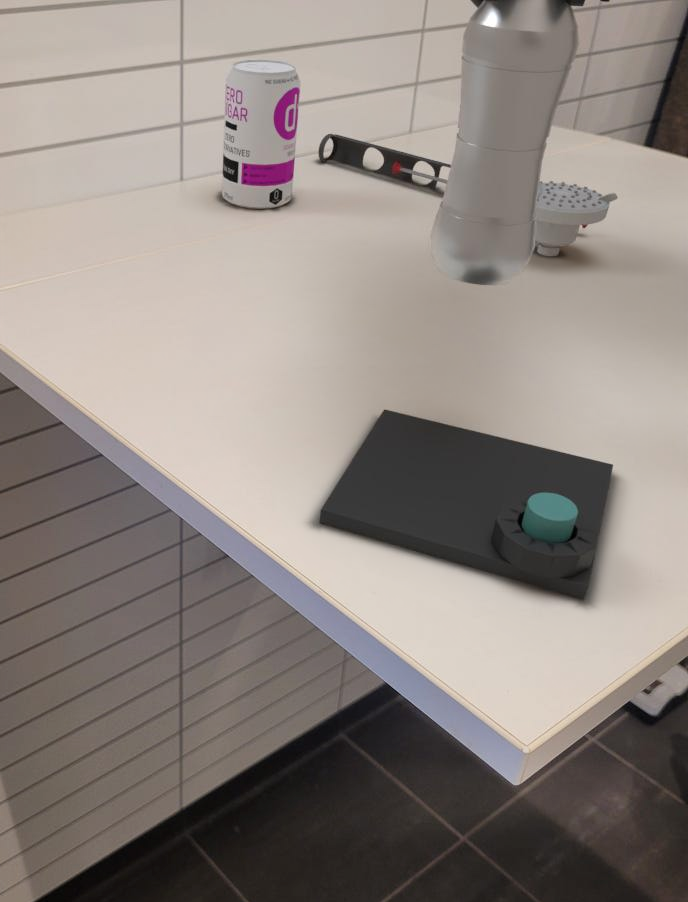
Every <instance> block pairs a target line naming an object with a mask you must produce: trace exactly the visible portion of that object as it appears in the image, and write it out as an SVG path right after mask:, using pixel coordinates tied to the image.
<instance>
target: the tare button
mask: <svg viewBox="0 0 688 902" xmlns="http://www.w3.org/2000/svg"><path fill="white" fill-rule="evenodd" d="M577 515H578V509H577V507H576V505H575V504H574V503H573V502H572V501H571V500H569V499H567V498H566V497H563V496H561V495H558V494H554V493H537V494H534V495H532V496H531V497H530V498H529V499H528V502H527V506H526V510H525V513H524V517H523V521H522V528H523V530H524V532H525V533H526V534H528V535H529V536H531V537H532V538H534V539H537V540H541V541H545V542H548V543H564V542H566V541H567V540H569V539H570V537H571V534H572V531H573V528H574V524H575V521H576V518H577Z"/></svg>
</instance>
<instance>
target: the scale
mask: <svg viewBox="0 0 688 902" xmlns="http://www.w3.org/2000/svg"><path fill="white" fill-rule="evenodd" d="M613 467H614V464H612V463H608V462H604V461H600V460H596V459H591V458H589V457H588V458H587V457H583V456H579V455H575V454H571V453H567V452H563V451H559V450H555V449H550V448H546V447H542V446H537V445H533V444H530V443H525V442H522V441H518V440H513V439H509V438H505V437H502V436H501V437H500V436H497V435H492V434H489V433H484V432H480V431H476V430H473V429H472V430H471V429H469V428H463V427H460V426H455V425H451V424H446V423H443V422H439V421H435V420H430V419H426V418H422V417H418V416H414V415H410V414H405V413H401V412H398V411H394V410H390V409H384V408H383V410H382V412H381V414H380V415H379V417H378V418H377V420H376V422H375V423H374V425H373V426H372V428H371V430H370V431H369V433H368V434H367V436H366V438H365V439H364V440H363V442H362V443H361V445H360V447H359V448H358V449H357V452H356V453H355V455H354V457H353V458H352V460H351V461H350V463H349V464H348V466H347V467H346V468H345V471H344V472H343V473H342V475H341V477H340V479H339V480H338V481H337V484H336V485H334V486H335V487H334V488H333V490H332V491H331V493H330V494H329V496H328V498H327V499H326V501H324V504H323V505H322V507H321V508H320V513H319V521H318V523H319V524H321V525H325V526H327V527H331V528H334V529H339V530H341V531H346V532H349V533H352V534H355V535H359V536H361V537H366V538H369V539H372V540H375V541H379V542H383V543H387V544H390V545H394V546H397V547H400V548H404V549H407V550H411V551H415V552H418V553H421V554H424V555H426V556H427V555H428V556H431V557H434V558H437V559H441V560H445V561H447V562H452V563H455V564H458V565H461V566H462V565H463V566H465V567H470V568H473V569H475V570H479V571H482V572H486V573H490V574H493V575H496V576H500V577H504V578H507V579H510V580H514V581H517V582H521V583H523V584H528V585H531V586H534V587H538V588H541V589H544V590H548V591H552V592H554V593H559V594H561V595H565V596H569V597H572V598H575V599H579V600H583V601H585V599H586V596H587V593H588V590H589V587H590V581H591V577H592V572H593V567H594V562H595V556H596V552H597V548H598V542H599V539H600V538H599V537H600V532H601V527H602V522H603V517H604V513H605V508H606V504H607V497H608V493H609V488H610V483H611V477H612V474H613ZM537 493H554V494H558V495H561V496H563V497H566V498H567V499H569V500H571V501H572V502H573V503H574V504H575V505H576V507H577V509H578V515H577V518H576V521H575V524H574V528H573V531H572V534H571V537H570V539H569V540H567V541H566V542H564V543H548V542H545V541H541V540H537V539H534V538H532V537H531V536H529V535H528V534H526V533H525V532H524V530H523V528H522V521H523V517H524V513H525V510H526V506H527V502H528V499H529V498H530V497H531V496H532V495H534V494H537Z"/></svg>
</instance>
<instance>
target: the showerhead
mask: <svg viewBox="0 0 688 902" xmlns="http://www.w3.org/2000/svg"><path fill="white" fill-rule="evenodd" d="M618 197H619V196H618V194H616V192H612V193H611V192H610V193H607V194H604V195H603V194H602V193H600V192H598V191H597V190H595V189H589V188H588V186H584V187H583V186H578V184H577V183H573V184H568V183H566V182H565V181H561V183H558V182H554V181H552V180H550V181H548V182H543V181H541V180H540V183H539V190H538V198H537V205H536V211H535V213H536V237H535V243H538V245H537V249H536V252H537V253H538V254H540V255H542V256H545V257H556V256H558V255H559V253H560V249H561V247H564V246H569V245H571V244H573V243H575V241H576V240H577V236H578V232H579V229H580V226H582V225H587V224H588V225H593V224H597V223H599V222H600V223H601V222H602V221H604V220H605V219H606V218H607V214H608V211H609V208H610V205H611V203H612V202H614V201H615V200H618ZM588 225H587V226H588Z"/></svg>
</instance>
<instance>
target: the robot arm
mask: <svg viewBox="0 0 688 902" xmlns="http://www.w3.org/2000/svg"><path fill="white" fill-rule="evenodd" d="M483 1H484V0H470V2H471V3H472V4H473V5H474V7H476V8H477V9H478V7H479V6H480V5H481V3H482V2H483ZM485 1H491V2H498V0H485ZM610 1H611V0H600V2H603V3H604V2H605V3H610ZM566 2H567V4H568V5H569V6H571V7H584V6H585V2H586V0H566Z"/></svg>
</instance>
